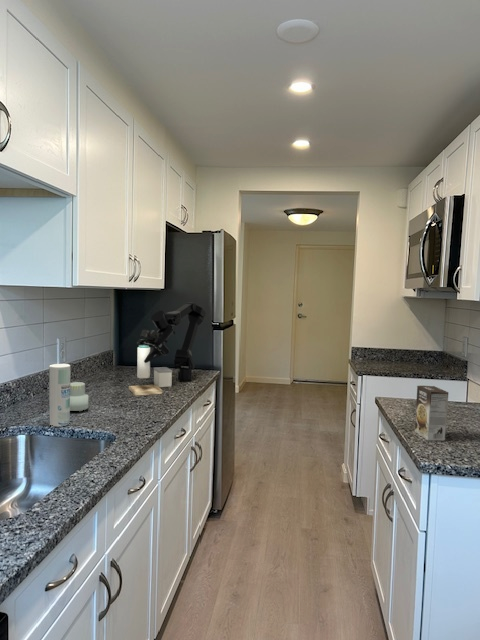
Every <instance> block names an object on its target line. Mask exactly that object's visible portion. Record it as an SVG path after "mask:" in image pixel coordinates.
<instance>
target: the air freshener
mask: <svg viewBox="0 0 480 640" xmlns="http://www.w3.org/2000/svg"><path fill="white" fill-rule="evenodd" d="M87 409H89V394H87V393H86V383H85V382H80V381H76V382H75V381H74V382H70V411H79V412H84V411H86V410H87ZM83 410H84V411H83Z"/></svg>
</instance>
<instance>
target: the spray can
mask: <svg viewBox="0 0 480 640" xmlns="http://www.w3.org/2000/svg"><path fill="white" fill-rule="evenodd" d="M48 371H49V372H48V375H49V376H48V379H49V381H48V385H49V388H48V393H49V398H48V399H49V400H48V401H49V404H48V405H49V418H48V419H49V426H50V425H53V426H61V425H67V424H69V423H70V421H71V420H70V419H71V416H70V415H71V412H70V383H71V364H68V363H53V364H50V365H49V367H48ZM69 425H70V424H69Z"/></svg>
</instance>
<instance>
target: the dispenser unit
mask: <svg viewBox="0 0 480 640" xmlns="http://www.w3.org/2000/svg"><path fill="white" fill-rule="evenodd" d="M172 376H173V370H172V369H171V368H169V367H167V366H162V367H153V385H156V386H158V387H159V388H166V387H172V379H173V377H172Z"/></svg>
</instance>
